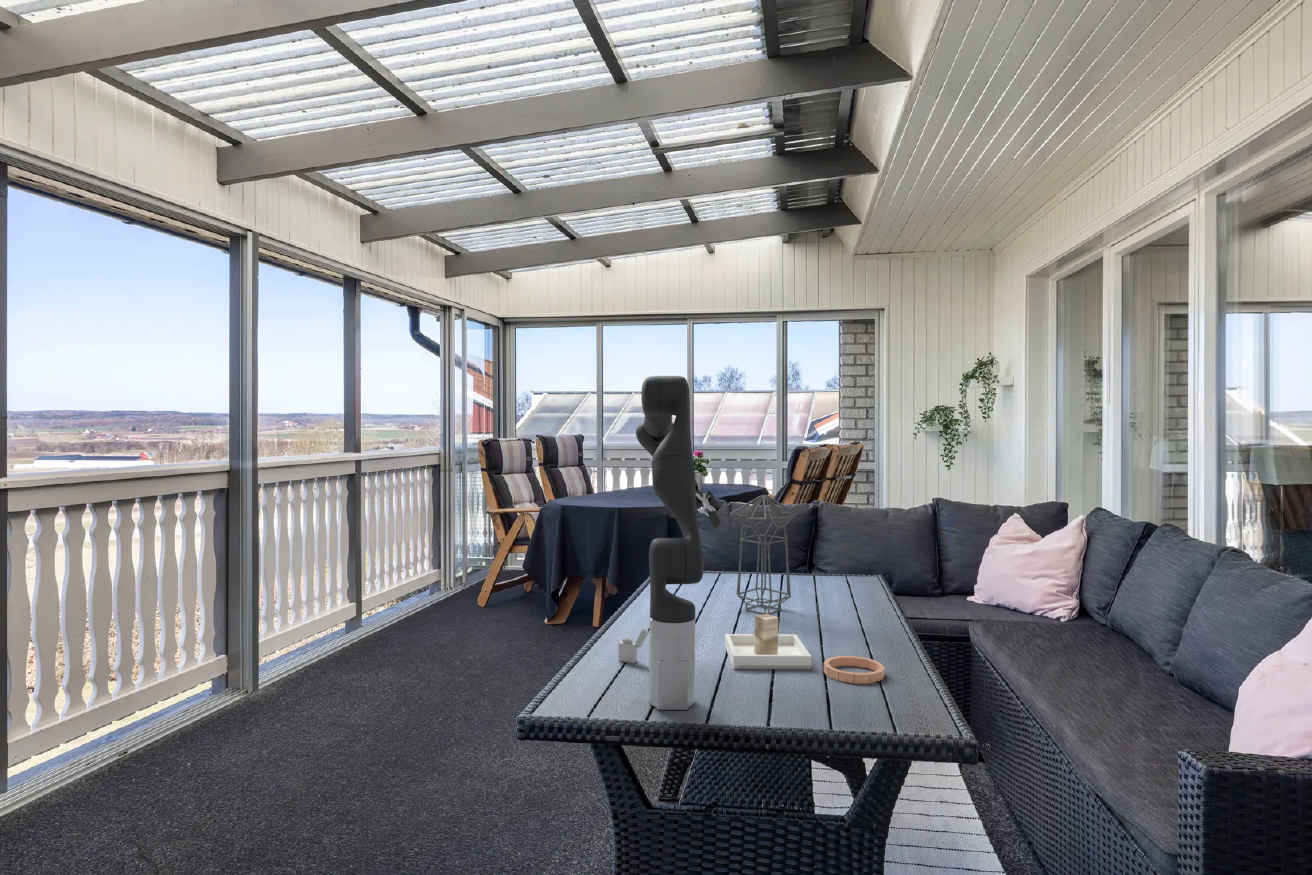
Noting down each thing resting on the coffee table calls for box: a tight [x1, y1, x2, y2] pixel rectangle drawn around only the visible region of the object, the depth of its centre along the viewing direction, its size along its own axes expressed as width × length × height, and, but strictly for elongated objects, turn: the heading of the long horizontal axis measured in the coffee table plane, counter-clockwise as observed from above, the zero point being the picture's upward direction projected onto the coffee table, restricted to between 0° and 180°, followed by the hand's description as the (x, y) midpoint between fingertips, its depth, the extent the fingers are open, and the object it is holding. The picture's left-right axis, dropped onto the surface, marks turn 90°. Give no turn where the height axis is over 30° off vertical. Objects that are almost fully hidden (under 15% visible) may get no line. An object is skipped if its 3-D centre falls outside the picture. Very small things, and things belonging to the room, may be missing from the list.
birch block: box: [753, 614, 779, 655], centre depth 188 cm, size 4×4×9 cm
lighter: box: [618, 628, 650, 664], centre depth 183 cm, size 7×2×8 cm, turn 69°
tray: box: [724, 633, 813, 670], centre depth 188 cm, size 18×18×3 cm
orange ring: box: [823, 655, 886, 685], centre depth 176 cm, size 13×13×2 cm
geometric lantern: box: [729, 494, 798, 615], centre depth 233 cm, size 16×16×35 cm
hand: (702, 527), depth 192 cm, fingers open, 8 cm apart
